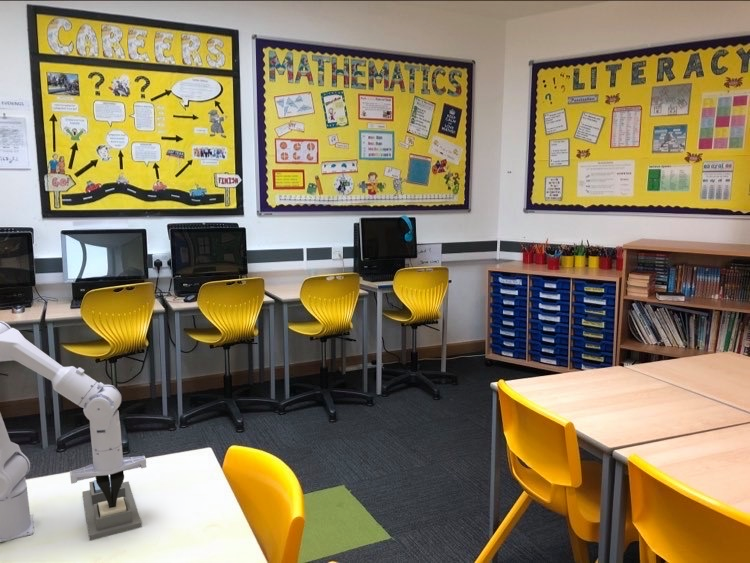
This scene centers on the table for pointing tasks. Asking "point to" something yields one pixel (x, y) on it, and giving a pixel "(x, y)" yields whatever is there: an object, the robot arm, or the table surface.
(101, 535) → the key board
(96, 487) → the blue key
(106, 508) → the white key
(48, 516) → the table surface
